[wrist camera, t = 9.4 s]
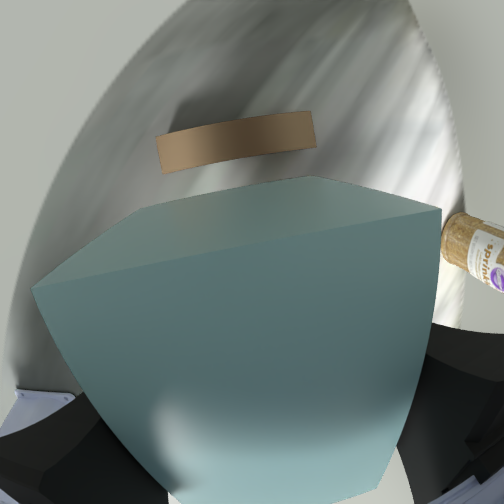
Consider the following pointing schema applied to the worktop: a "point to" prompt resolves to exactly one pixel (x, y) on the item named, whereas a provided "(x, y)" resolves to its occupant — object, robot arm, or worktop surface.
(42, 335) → the worktop surface
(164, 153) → the strip
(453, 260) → the sprinkles bottle
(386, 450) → the pale mint block
